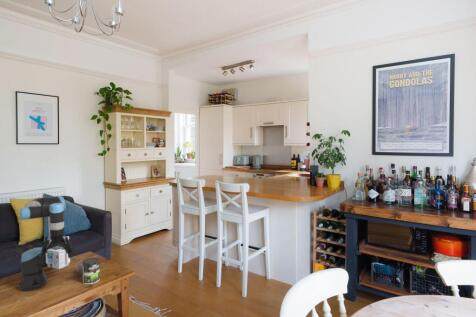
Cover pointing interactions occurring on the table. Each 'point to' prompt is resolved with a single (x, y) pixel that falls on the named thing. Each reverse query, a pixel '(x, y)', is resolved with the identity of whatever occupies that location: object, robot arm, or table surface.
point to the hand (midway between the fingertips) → (58, 262)
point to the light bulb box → (56, 257)
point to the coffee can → (91, 270)
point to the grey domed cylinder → (80, 269)
